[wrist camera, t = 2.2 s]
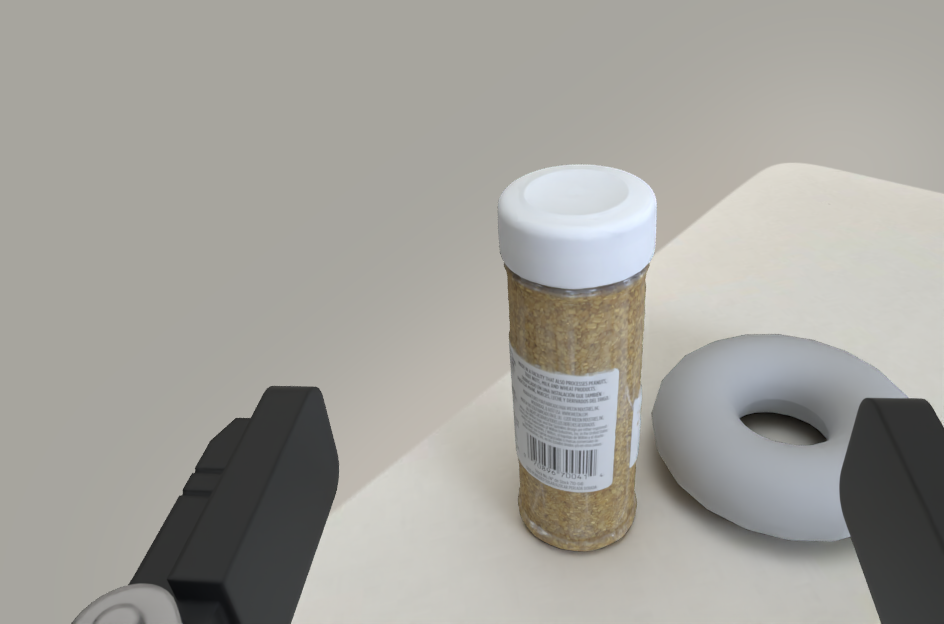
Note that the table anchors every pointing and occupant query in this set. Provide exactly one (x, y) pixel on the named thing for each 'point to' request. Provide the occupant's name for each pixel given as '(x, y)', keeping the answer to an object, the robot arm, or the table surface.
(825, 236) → the table surface
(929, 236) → the table surface
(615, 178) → the sprinkles bottle
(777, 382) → the donut
